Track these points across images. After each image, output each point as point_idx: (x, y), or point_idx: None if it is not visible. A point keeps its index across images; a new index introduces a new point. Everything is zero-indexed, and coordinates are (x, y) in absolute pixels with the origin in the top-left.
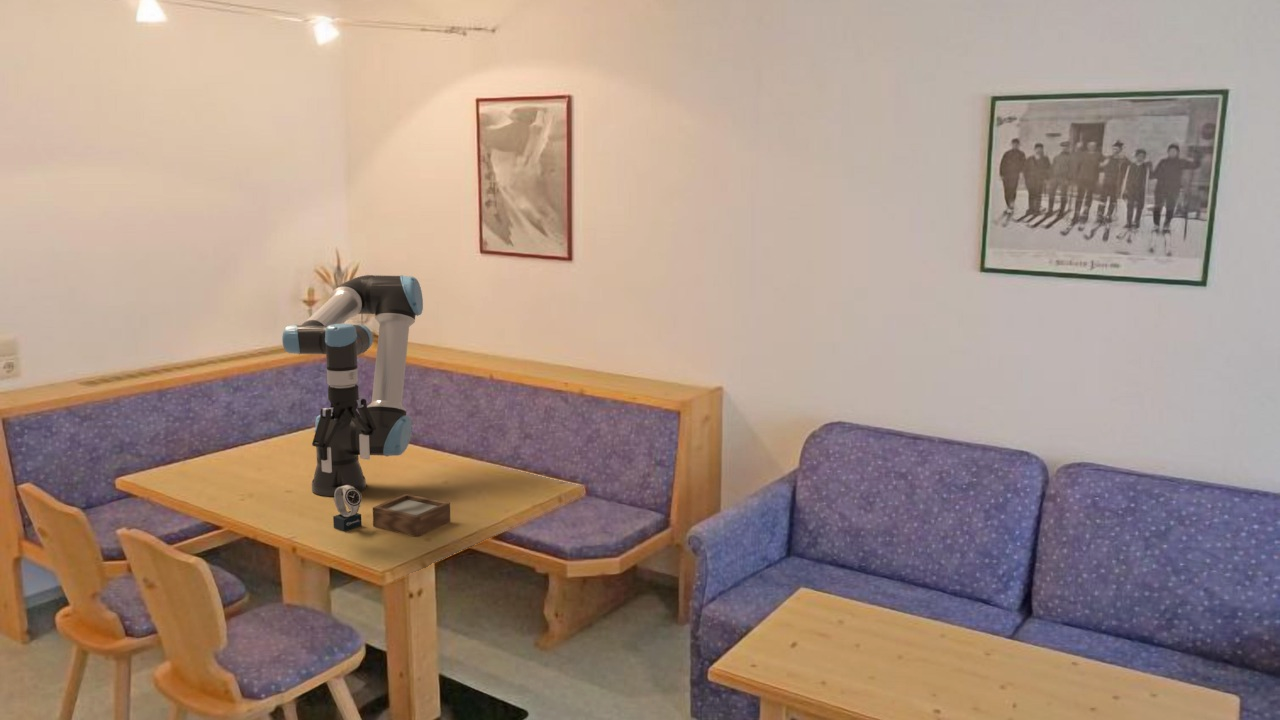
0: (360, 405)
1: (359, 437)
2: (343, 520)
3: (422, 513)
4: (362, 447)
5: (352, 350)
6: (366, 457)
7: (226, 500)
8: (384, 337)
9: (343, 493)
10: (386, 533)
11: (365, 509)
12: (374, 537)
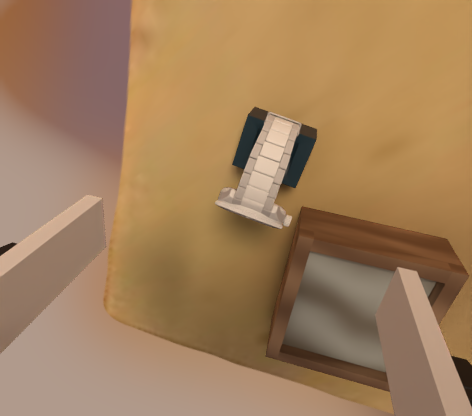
0: None
1: (441, 403)
2: (232, 164)
3: (296, 359)
4: (403, 346)
5: None
6: (379, 317)
7: None
8: None
9: (224, 195)
10: (267, 255)
11: (454, 103)
12: (234, 241)
